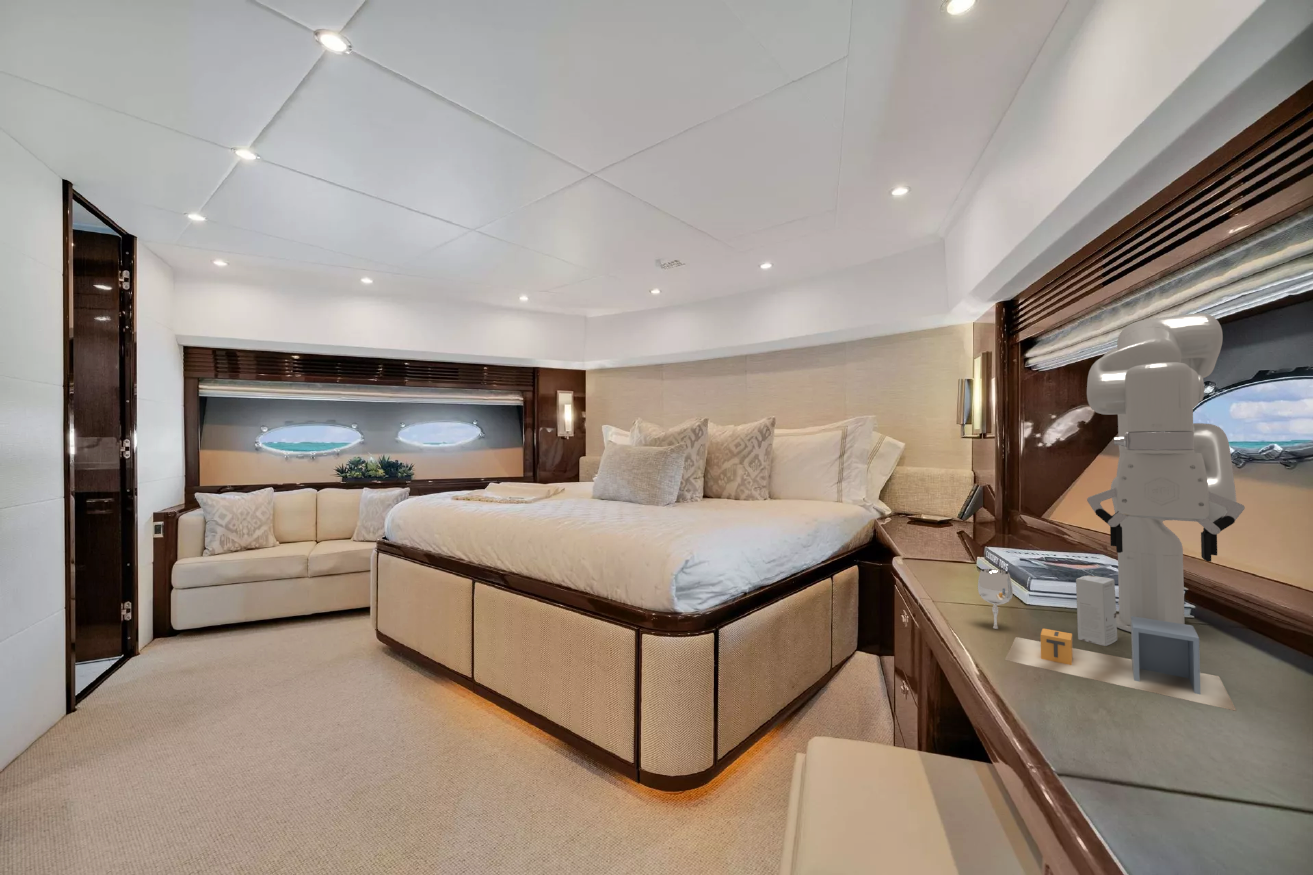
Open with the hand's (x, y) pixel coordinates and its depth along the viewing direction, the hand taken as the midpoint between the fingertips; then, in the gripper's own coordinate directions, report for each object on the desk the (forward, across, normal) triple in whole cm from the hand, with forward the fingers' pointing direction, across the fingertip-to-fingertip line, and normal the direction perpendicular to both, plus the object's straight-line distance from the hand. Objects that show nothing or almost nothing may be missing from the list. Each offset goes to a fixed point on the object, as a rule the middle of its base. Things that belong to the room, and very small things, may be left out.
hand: (1161, 555), depth 80 cm
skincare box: (+20, -8, +15) cm, 26 cm away
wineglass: (+20, -23, +10) cm, 32 cm away
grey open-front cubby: (+19, 0, 0) cm, 19 cm away
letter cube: (+19, -13, -1) cm, 23 cm away
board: (+20, -6, 0) cm, 21 cm away
